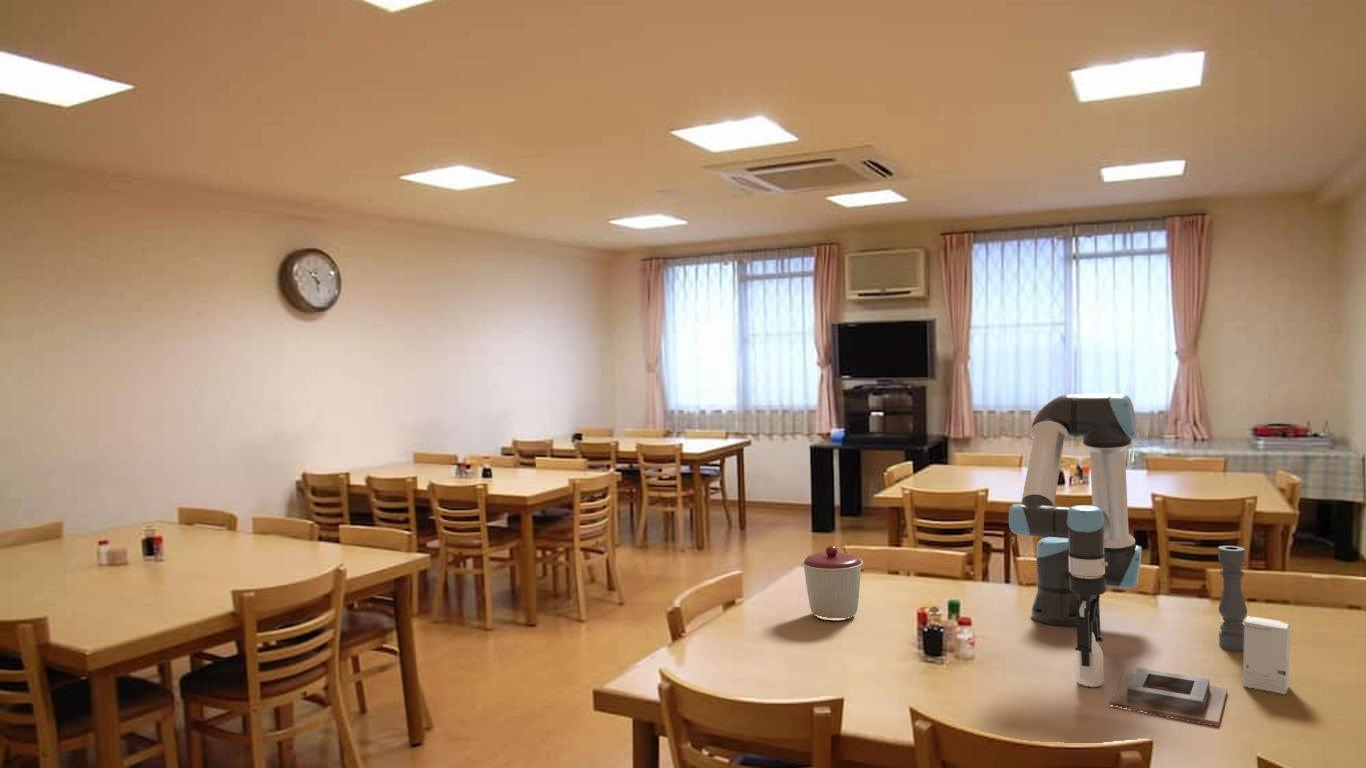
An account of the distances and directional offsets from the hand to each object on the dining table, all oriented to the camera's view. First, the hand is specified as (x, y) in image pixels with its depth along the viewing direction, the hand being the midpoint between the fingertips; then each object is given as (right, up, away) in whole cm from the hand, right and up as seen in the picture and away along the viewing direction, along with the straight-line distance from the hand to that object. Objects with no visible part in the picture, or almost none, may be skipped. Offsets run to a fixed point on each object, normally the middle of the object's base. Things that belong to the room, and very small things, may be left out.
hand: (1090, 674), depth 199 cm
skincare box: (+37, -1, -6) cm, 37 cm away
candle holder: (+46, 0, +20) cm, 50 cm away
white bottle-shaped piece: (0, -2, 0) cm, 2 cm away
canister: (-48, -3, +59) cm, 76 cm away
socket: (+12, -2, -10) cm, 16 cm away
